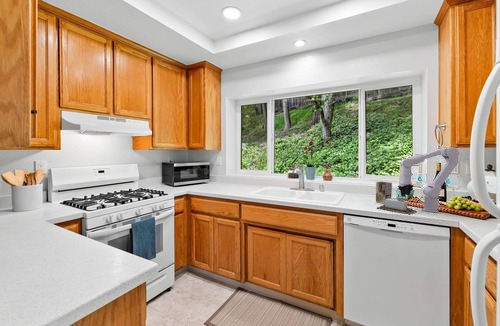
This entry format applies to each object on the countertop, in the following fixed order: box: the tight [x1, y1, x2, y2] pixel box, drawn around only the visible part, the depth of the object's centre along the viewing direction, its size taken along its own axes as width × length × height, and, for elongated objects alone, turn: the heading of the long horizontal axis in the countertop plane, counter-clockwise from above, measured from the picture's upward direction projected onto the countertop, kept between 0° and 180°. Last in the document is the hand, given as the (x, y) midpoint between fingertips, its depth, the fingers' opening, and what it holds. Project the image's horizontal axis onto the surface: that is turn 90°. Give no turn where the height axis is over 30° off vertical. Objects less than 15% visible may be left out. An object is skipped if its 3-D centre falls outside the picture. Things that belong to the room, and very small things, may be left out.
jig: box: [376, 204, 417, 215], centre depth 164 cm, size 13×20×2 cm, turn 37°
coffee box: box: [375, 181, 393, 205], centre depth 185 cm, size 9×6×16 cm
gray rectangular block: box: [384, 198, 408, 210], centre depth 164 cm, size 5×12×7 cm, turn 37°
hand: (405, 195), depth 166 cm, fingers open, 7 cm apart
